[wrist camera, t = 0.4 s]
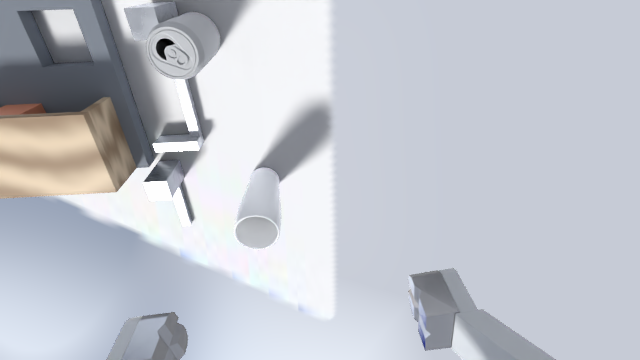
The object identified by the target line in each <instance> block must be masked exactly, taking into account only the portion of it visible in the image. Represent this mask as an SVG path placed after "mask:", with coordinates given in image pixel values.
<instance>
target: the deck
mask: <svg viewBox="0 0 640 360" xmlns="http://www.w3.org/2000/svg"><path fill="white" fill-rule="evenodd" d="M59 9H73V10H74V13H75V15H76V18H77V21H78V23H79V26H80V29H81V31H82V34H83V36H84V39H85V42H86V44H87V47H88V50H89V52H90V55H91V57H92V60H93V62H78V63H54V62H53V60H52V58H51V55H50V53H49V51H48V49H47V46H46V44H45V42H44V40H43V37H42V35H41V33H40V31H39V28H38V26H37V24H36V22H35V19H34V17H33V15H32V13H31V10H59ZM103 97H110V98H111V101H112V103H113V106H114V109H115V111H116V114H117V117H118V119H119V122H120V125H121V127H122V130H123V133H124V135H125V138H126V141H127V143H128V146H129V149H130V151H131V154H132V157H133V159H134V162H135V165H136V167H137V168H142V167H149V166H150V165H151V164H152V162H153V161H154V157H153V154H152V151H151V149H150V146H149V143H148V140H147V137H146V134H145V131H144V128H143V125H142V122H141V119H140V116H139V113H138V110H137V107H136V104H135V101H134V98H133V95H132V92H131V89H130V86H129V83H128V80H127V77H126V74H125V71H124V68H123V65H122V62H121V59H120V56H119V53H118V50H117V47H116V44H115V41H114V38H113V36H112V33H111V30H110V27H109V24H108V21H107V18H106V15H105V12H104V9H103V6H102V3H101V0H0V107H3V106H5V105H17V104H40V103H41V104H42V106H43V108H44V110H45V112H46V113H65V112H81V111H82V110H84V109H86V108H87V107H89V106H90V105H92V104H93V103H95V102H97V101H98V100H100V99H101V98H103Z"/></svg>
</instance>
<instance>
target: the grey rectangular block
mask: <svg viewBox="0 0 640 360" xmlns="http://www.w3.org/2000/svg"><path fill="white" fill-rule="evenodd" d="M124 11H125V14H126V17H127V20H128V23H129V26H130V29H131V32H132V35H133V38H134V41H138V40H147V38H148V35H149V33H150V31H151V30H152V28H153V27H154V26H156V25H157V24H159V23H162V22H164V21H167V20H169V19H172V18H174V17H177V16H178V12H177V8H176V4H175V2H159V3H147V4H142V5H137V6H133V7H128V8H124ZM163 39H164V38H163ZM173 43H174V42H173ZM174 44H175V43H174ZM174 80H175V83H176V87H177V90H178V94H179V97H180V101H181V104H182V108H183V111H184V115H185V118H186V122H187V125H188V129H189V132H190V134H185V135H165V136H159V137H158V139H157V140H156V141H155V142H154V143H153V146H154V149H155V152H171V151H191V150H199V149H200V148H201V146H202V145H203V143H204V139H203V135H202V131H201V128H200V124H199V120H198V116H197V112H196V108H195V105H194V101H193V97H192V93H191V89H190V86H189V82H188V79H174Z"/></svg>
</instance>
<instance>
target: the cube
mask: <svg viewBox="0 0 640 360" xmlns="http://www.w3.org/2000/svg"><path fill="white" fill-rule="evenodd" d="M43 113H46V112H45V110H44V108H43V106H42V104H41V103H40V104H17V105H5V106H3V107H0V115H21V114H43Z"/></svg>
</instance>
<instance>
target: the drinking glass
mask: <svg viewBox="0 0 640 360" xmlns="http://www.w3.org/2000/svg"><path fill="white" fill-rule="evenodd" d="M280 228H281V205H280V191H279V176H278V174H277V173H276V172H275V171H274V170H272V169H270V168H266V167H262V168H258V169H256V170H255V171H254V172H253V173H252V174H251V176H250V180H249V183H248V186H247V188H246V191H245V193H244V196H243V198H242V201H241V203H240V206H239V209H238V212H237V216H236V220H235V226H234V235H235V238H236V239H237V241H238V242H239V243H240V244H242V245H243V246H245V247H247V248H251V249H265V248H268V247H270V246H272V245H273V244H275V243H276V241H277V240H278V238H279V235H280Z"/></svg>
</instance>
